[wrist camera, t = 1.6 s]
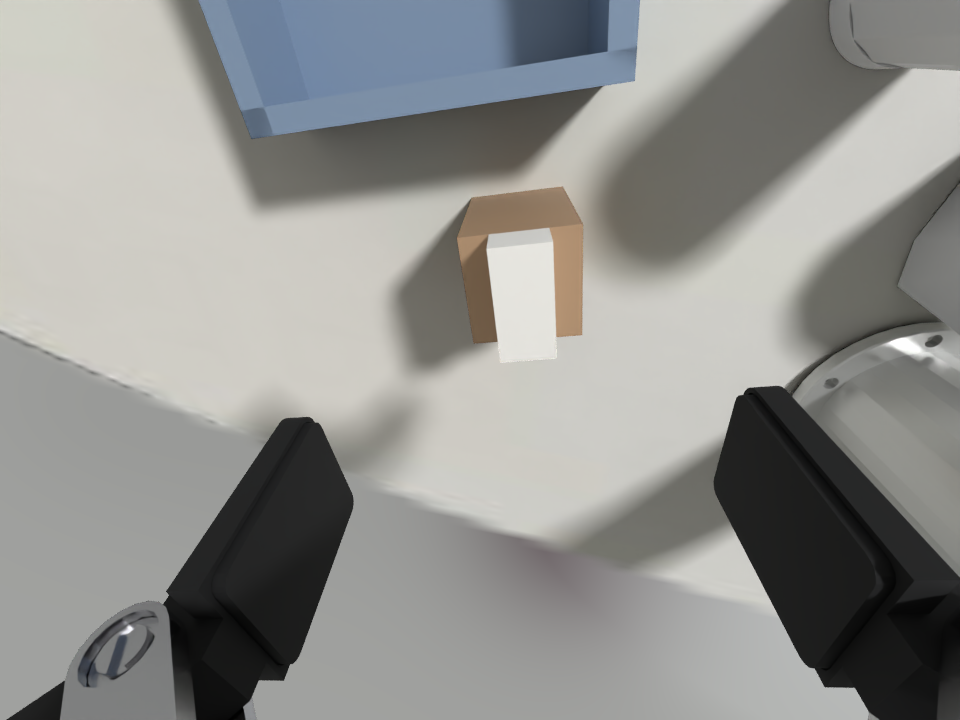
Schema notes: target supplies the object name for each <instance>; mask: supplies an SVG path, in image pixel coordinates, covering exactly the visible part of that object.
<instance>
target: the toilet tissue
mask: <svg viewBox="0 0 960 720" xmlns="http://www.w3.org/2000/svg"><path fill="white" fill-rule="evenodd" d="M897 287H899V288H900V289H901V290H903V291H904V292H905V293H906V294H908V295H909V296H910V297H912V298H913V299H914V300H915V301H917V302H918V303H919V304H921V305H922V306H923V307H924V308H926V309H927V310H928V311H930V312H931V313H932V314H933V315H935V316H936V317H937V318H938V319H940V320H941V321H942V322H944V323H945V324H946V325H947V326H949V327H950V328H951V329H953V330H954V331H955V332H956V333H958V334H959V335H960V183H959V184H958V185H957V187H956V188H955V189H954V191H953V192H952V193H951V194H950V196H949V197H948V198H947V199H946V201H945V202H944V203H943V205H942V206H941V207H940V208H939V210H938V211H937V212H936V213H935V215H934V216H933V217H932V218H931V220H930V221H929V222H928V224H927V225H926V226H925V227H924V229H923V230H922V231H921V232H920V234H919V235H918V236H917V238H916V239H915V240H914V243H913V245H912V248H911V251H910V253H909V256H908V259H907V261H906V264H905V267H904V270H903V272H902V275H901V278H900V280H899V283H898V286H897Z"/></svg>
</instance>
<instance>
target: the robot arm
mask: <svg viewBox="0 0 960 720" xmlns="http://www.w3.org/2000/svg"><path fill="white" fill-rule="evenodd" d="M714 490H715V493H716V496H717V498H718V500H719V502H720V504H721V506H722V507H723V509H724V511H725V513H726V515H727V517H728V519H729V521H730V523H731V525H732V527H733V529H734V531H735V533H736V535H737V537H738V538H739V540H740V542H741V544H742V546H743V548H744V550H745V552H746V554H747V556H748V558H749V560H750V562H751V564H752V566H753V567H754V569H755V571H756V573H757V575H758V577H759V579H760V581H761V583H762V585H763V587H764V589H765V591H766V593H767V595H768V596H769V598H770V600H771V602H772V604H773V606H774V608H775V610H776V612H777V614H778V616H779V618H780V620H781V622H782V624H783V625H784V627H785V629H786V631H787V633H788V635H789V637H790V639H791V641H792V643H793V645H794V647H795V649H796V651H797V652H798V654H799V656H800V658H801V659H802V661H803V662H804V663H805V664H806V665H807V666H808V667H810V668H815V670H816V671H817V674H818V675H819V677H820V679H821V681H822V683H823V685H824V687H845V688H847V687H849V688H853V687H854V688H855V689H856V690H857V692H858V694H859V695H860V697H861V699H862V701H863V702H864V704H865V706H866V707H867V709H868V711H869V716H868V720H960V335H959V334H958V333H956V332H955V331H954V330H953V329H951V328H950V327H949V326H947V325H946V324H945V323H944V322H932V323H918V324H913V325H907V326H901V327H897V328H894V329H890V330H887V331H884V332H880V333H877V334H874V335H872V336H870V337H867V338H865V339H863V340H861V341H858V342H856V343H854V344H852V345H850V346H848V347H847V348H845V349H843V350H841V351H840V352H838V353H836V354H834V355H833V356H832V357H830V358H829V359H828V360H826V361H825V362H823V363H822V364H821V365H819V366H818V367H817V368H816V369H815V370H814V371H813V372H812V373H811V374H810V375H809V376H808V377H807V378H806V379H805V380H803V382H802V383H801V384H800V386H799V387H798V388H797V390H796V391H795V392H794V394H793V395H792V396H791V395H790V394H789V393H788V392H787V391H786V390H785V389H784V388H783V387H780V386H769V387H754V388H748V389H747V390H746V391H745V392H744V395H740V396H738V397H737V398H736V401H735V404H734V408H733V411H732V415H731V419H730V422H729V426H728V430H727V433H726V437H725V441H724V444H723V448H722V452H721V455H720V459H719V463H718V466H717V470H716V474H715V477H714ZM352 509H353V495H352V492H351V490H350V488H349V486H348V484H347V482H346V479H345V477H344V475H343V473H342V471H341V468H340V466H339V464H338V462H337V460H336V458H335V455H334V453H333V451H332V449H331V447H330V444H329V442H328V440H327V438H326V436H325V434H324V431H323V429H322V427H321V425H320V424H319V423H315V422H314V421H313V419H312V418H310V417H300V418H286V419H284V420H282V421H281V422H280V423H279V425H278V426H277V428H276V429H275V431H274V432H273V434H272V435H271V437H270V438H269V440H268V441H267V443H266V444H265V446H264V447H263V449H262V450H261V452H260V453H259V455H258V456H257V458H256V459H255V461H254V462H253V464H252V465H251V467H250V468H249V469H248V471H247V472H246V474H245V475H244V477H243V478H242V480H241V481H240V483H239V484H238V486H237V488H236V489H235V490H234V492H233V493H232V495H231V496H230V498H229V499H228V501H227V502H226V504H225V505H224V507H223V508H222V510H221V511H220V513H219V514H218V515H217V517H216V518H215V520H214V521H213V523H212V524H211V526H210V527H209V529H208V530H207V532H206V533H205V535H204V536H203V538H202V539H201V541H200V542H199V544H198V545H197V547H196V548H195V549H194V551H193V553H192V554H191V555H190V557H189V558H188V560H187V561H186V563H185V564H184V566H183V568H182V569H181V570H180V572H179V573H178V575H177V576H176V578H175V579H174V581H173V582H172V584H171V585H170V587H169V588H168V589H167V591H166V592H167V593H168V594H169V596H168V598H167V599H166V601H165V602H164V604H161V603H160V602H155V601H146V602H142V603H137V604H134V605H132V606H130V607H128V608H126V609H124V610H122V611H120V612H118V613H117V614H116V615H114V616H113V617H111V618H110V619H108V620H107V621H106V622H104V623H103V624H102V625H101V626H100V627H99V628H98V629H97V630H96V631H95V632H94V633H92V634H91V635H90V637H89V638H88V639H87V640H86V642H85V643H84V644H83V645H82V646H81V647H80V649H79V650H78V652H77V654H76V655H75V657H74V659H73V660H72V662H71V664H70V666H69V669H68V672H67V676H66V679H65V681H63V682H62V683H60V684H59V685H58V686H56V687H55V688H53V689H51V690H50V691H49V692H47V693H46V694H44V695H43V696H41V697H40V698H38V699H37V700H35V701H34V702H32V703H31V704H29V705H28V706H26V707H25V708H23V709H22V710H20V711H19V712H17V713H16V714H14V715H13V716H12V717H10V718H9V719H7V720H257V719H256V714H255V710H254V705H253V700H252V695H253V693H254V690H255V688H256V685H257V683H258V681H259V680H280V681H284V679H285V676H286V673H287V671H288V668H289V665H290V664H293V663H294V662H295V661H296V660H297V659H298V657H299V655H300V652H301V650H302V647H303V644H304V642H305V639H306V636H307V633H308V631H309V628H310V625H311V622H312V620H313V617H314V614H315V612H316V609H317V606H318V603H319V600H320V598H321V595H322V592H323V590H324V587H325V584H326V581H327V578H328V576H329V573H330V570H331V568H332V565H333V562H334V559H335V556H336V554H337V551H338V548H339V546H340V543H341V540H342V537H343V534H344V532H345V529H346V526H347V523H348V521H349V518H350V515H351V512H352Z"/></svg>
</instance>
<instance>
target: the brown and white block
mask: <svg viewBox="0 0 960 720" xmlns="http://www.w3.org/2000/svg"><path fill="white" fill-rule="evenodd" d="M457 242H458V248H459V254H460V261H461V267H462V273H463V280H464V286H465V292H466V298H467V305H468V311H469V317H470V323H471V330H472V336H473V342H474V343H487V342H498V348H499V356H500V363H504V362H518V361H531V360H545V359H557V347H556V337H563V336H576V335H582V282H583V223H582V221H581V219H580V218H579V216H578V214H577V212H576V210H575V208H574V206H573V205H572V203H571V201H570V199H569V197H568V195H567V194H566V192H565V190H564V188H563V187H555V188H547V189H539V190H531V191H523V192H514V193H506V194H498V195H490V196H482V197H474V198H472V199H471V201H470V204H469V207H468V209H467V212H466V215H465V217H464V220H463V223H462V225H461V228H460V231H459V234H458V236H457Z"/></svg>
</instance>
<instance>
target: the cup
mask: <svg viewBox="0 0 960 720" xmlns="http://www.w3.org/2000/svg"><path fill="white" fill-rule="evenodd" d="M829 26H830V32H831V36H832V40H833V42H834V45H835V47H836V48H837V50H838V52H839V53H840V54H841V55H842V56H843V57H844V58H845V59H846V60H847V61H848V62H850V63H852V64H853V65H856V66H858V67H861V68H865V69H892V68H919V69H937V70H955V71H960V0H830V8H829Z"/></svg>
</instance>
